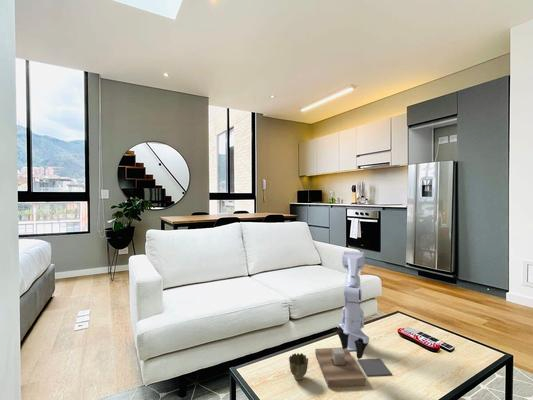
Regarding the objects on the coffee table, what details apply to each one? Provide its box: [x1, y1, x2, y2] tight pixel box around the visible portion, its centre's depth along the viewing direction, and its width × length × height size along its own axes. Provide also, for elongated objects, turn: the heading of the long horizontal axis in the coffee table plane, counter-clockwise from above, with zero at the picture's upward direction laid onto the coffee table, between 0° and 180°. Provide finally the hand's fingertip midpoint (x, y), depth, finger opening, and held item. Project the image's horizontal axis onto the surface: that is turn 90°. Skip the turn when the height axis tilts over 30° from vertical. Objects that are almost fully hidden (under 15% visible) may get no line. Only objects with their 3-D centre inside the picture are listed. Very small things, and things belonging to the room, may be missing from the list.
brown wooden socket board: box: [314, 347, 366, 389], centre depth 115 cm, size 20×14×3 cm
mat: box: [356, 358, 393, 377], centre depth 116 cm, size 10×10×1 cm
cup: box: [288, 352, 309, 381], centre depth 110 cm, size 8×7×8 cm
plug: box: [331, 346, 345, 366], centre depth 115 cm, size 4×4×8 cm
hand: (352, 352), depth 110 cm, fingers open, 7 cm apart
